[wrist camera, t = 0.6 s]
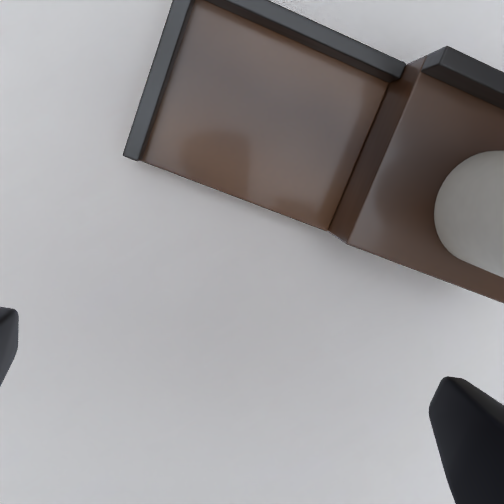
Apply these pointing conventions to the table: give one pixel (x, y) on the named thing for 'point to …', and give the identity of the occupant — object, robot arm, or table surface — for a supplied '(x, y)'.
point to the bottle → (474, 211)
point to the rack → (319, 126)
